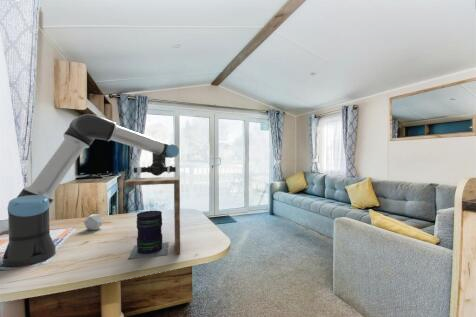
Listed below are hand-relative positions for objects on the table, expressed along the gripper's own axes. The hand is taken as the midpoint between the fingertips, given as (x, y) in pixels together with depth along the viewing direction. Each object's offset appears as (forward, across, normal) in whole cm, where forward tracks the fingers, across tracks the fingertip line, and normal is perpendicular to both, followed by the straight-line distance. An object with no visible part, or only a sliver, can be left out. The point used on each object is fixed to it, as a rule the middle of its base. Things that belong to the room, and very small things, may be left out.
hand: (153, 170), depth 109 cm
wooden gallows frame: (+16, -2, -32) cm, 36 cm away
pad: (+16, 0, -32) cm, 36 cm away
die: (-22, +33, -32) cm, 51 cm away
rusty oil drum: (+16, 0, -32) cm, 35 cm away
